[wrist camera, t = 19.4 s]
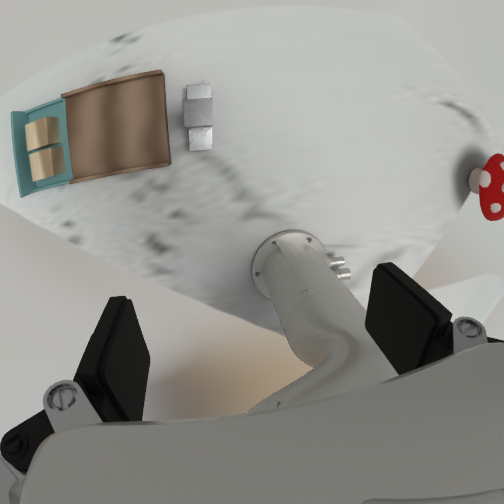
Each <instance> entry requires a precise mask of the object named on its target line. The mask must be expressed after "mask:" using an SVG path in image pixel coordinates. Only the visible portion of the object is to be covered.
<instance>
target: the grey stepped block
mask: <svg viewBox="0 0 504 504" xmlns="http://www.w3.org/2000/svg"><path fill="white" fill-rule="evenodd" d="M183 115H184V127H185V128H188V129H189V145H190V151H197V150H209V149H213V142H212V126H213V115H212V98H211V97H210V83H207V84H194V85H187V100H183Z"/></svg>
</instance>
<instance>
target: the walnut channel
mask: <svg viewBox="0 0 504 504" xmlns="http://www.w3.org/2000/svg"><path fill="white" fill-rule="evenodd" d="M61 98H64V99H65V100H66V119H67V131H68V142H69V151H70V159H71V166H72V173H73V179H72V180H70V181H69V184H73V183H77V182H82V181H86V180H91V179H96V178H101V177H106V176H111V175H116V174H122V173H127V172H133V171H139V170H145V169H152V168H158V167H165V166H169V165H170V164H171V155H170V145H169V134H168V122H167V108H166V93H165V75H164V73H163V72H162V70H155V71H149V72H144V73H139V74H134V75H129V76H125V77H120V78H116V79H112V80H108V81H104V82H100V83H96V84H93V85H89V86H86V87H83V88H79V89H76V90H73V91H70V92H67V93H64V94H61Z"/></svg>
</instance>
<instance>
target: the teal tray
mask: <svg viewBox="0 0 504 504" xmlns="http://www.w3.org/2000/svg"><path fill="white" fill-rule="evenodd" d="M44 117H59V125H60V136H61V143H58V144H55V145H51V146H48V147H45V148H42V149H38V150H33V151H27V142H26V131H25V125H26V124H28V123H31V122H33V121H36V120H39V119H41V118H44ZM11 128H12V141H13V151H14V160H15V168H16V174H17V181H18V187H19V192H20V197H21V198H22V197H25V196H27V195H29V194H31V193H33V192H36V191H40V190H44V189H48V188H51V187H55V186H59V185H63V184H68V183H69V181H70V180H72V179H73V173H72V166H71V159H70V151H69V142H68V131H67V119H66V100H65V99H64V98H59V99H56V100H53V101H51V102H48V103H45V104H43V105H40V106H37V107H35V108H32V109H30V110H28V111H25V112H20V111H12V112H11ZM58 146H63V152H64V160H65V167H66V172H63V173H60V174H58V175H55V176H51V177H48V178H44V179H41V180H37V181H34V182H33V179H32V173H31V166H30V158H29V154H32V153H35V152H38V151H41V150H45V149H48V148H52V147H58Z"/></svg>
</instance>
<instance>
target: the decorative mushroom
mask: <svg viewBox="0 0 504 504" xmlns="http://www.w3.org/2000/svg"><path fill="white" fill-rule="evenodd" d="M469 186H470V189H471V191H472V192H474V193H476V194H479V197H480V206H481V210H482V213H483V215H484V217H485V218H486V219H487V220H490V221H496V220H500V219H502V218H503V217H504V156H503V155H502V154H494V155H493V156H492V157H490V159H489V160H488V162H487V163H486V165H485V166H484V168H483V170H482V169H479V168H475V169H473V170H472V172H471V173H470V176H469Z"/></svg>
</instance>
